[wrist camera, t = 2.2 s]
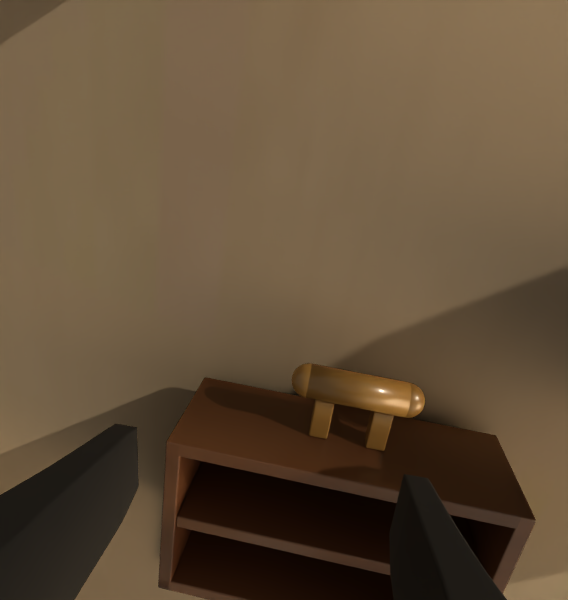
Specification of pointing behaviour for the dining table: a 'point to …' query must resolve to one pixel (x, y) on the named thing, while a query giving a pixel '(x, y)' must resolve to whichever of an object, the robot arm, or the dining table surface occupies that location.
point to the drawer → (321, 488)
